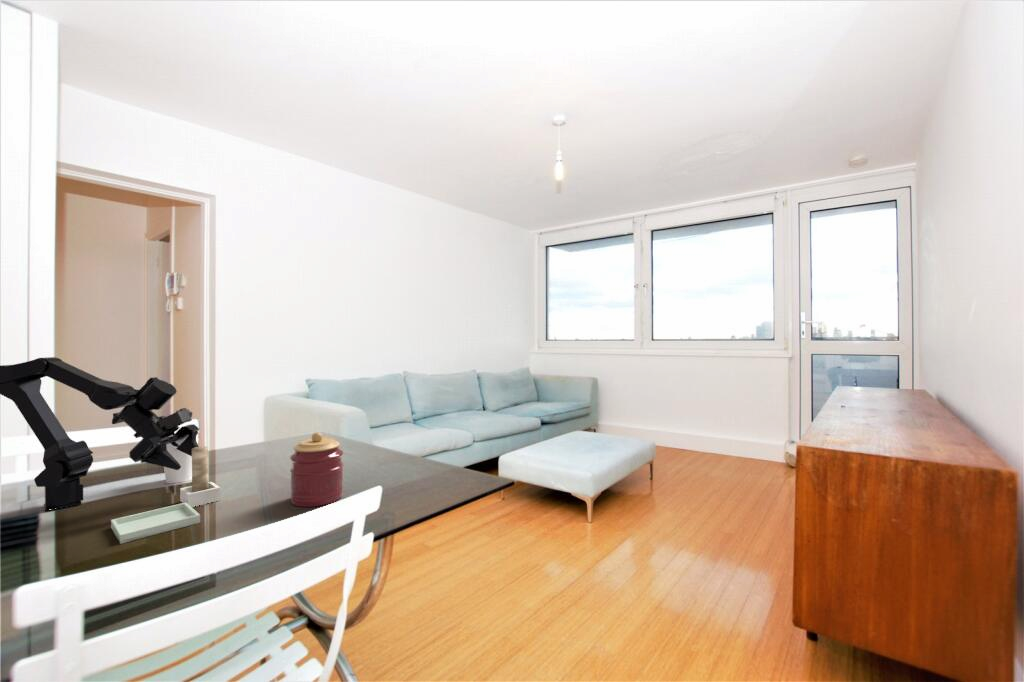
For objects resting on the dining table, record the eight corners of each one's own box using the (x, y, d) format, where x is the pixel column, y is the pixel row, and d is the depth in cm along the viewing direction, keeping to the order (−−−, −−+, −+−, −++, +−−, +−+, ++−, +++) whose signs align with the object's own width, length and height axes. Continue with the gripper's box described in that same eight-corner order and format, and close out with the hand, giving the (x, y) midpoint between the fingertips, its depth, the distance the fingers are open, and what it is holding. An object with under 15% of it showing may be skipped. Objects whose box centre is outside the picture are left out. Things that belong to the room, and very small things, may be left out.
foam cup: (206, 475, 138) (205, 434, 138) (181, 485, 129) (180, 440, 129) (178, 474, 139) (177, 433, 139) (151, 484, 130) (150, 440, 130)
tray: (120, 543, 93) (120, 535, 93) (111, 527, 100) (111, 519, 100) (200, 522, 103) (200, 514, 103) (186, 509, 111) (186, 502, 111)
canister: (352, 497, 119) (352, 431, 119) (303, 512, 109) (302, 440, 109) (329, 487, 127) (329, 425, 127) (282, 499, 118) (281, 432, 118)
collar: (187, 508, 112) (187, 494, 112) (180, 501, 116) (180, 488, 116) (220, 500, 117) (220, 487, 117) (212, 494, 122) (211, 481, 122)
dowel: (194, 504, 114) (193, 450, 114) (190, 501, 116) (190, 448, 116) (210, 500, 117) (209, 447, 117) (206, 497, 119) (205, 445, 119)
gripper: (141, 405, 106) (190, 449, 107) (191, 395, 125) (233, 433, 126) (106, 439, 106) (157, 483, 107) (162, 424, 125) (204, 462, 125)
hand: (191, 463), depth 116 cm, fingers open, 9 cm apart
